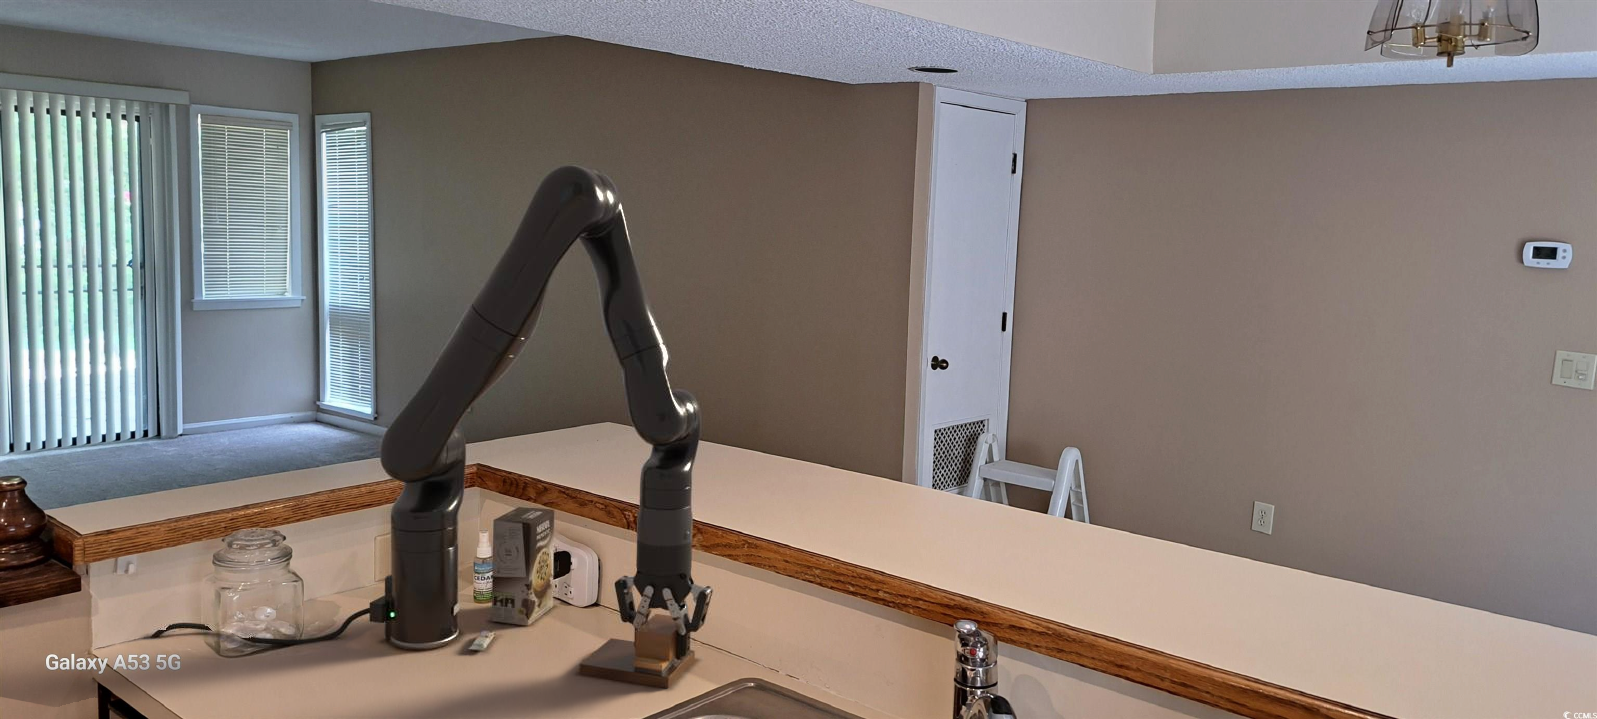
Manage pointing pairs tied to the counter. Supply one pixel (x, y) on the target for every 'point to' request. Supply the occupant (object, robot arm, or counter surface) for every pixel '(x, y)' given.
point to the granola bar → (482, 640)
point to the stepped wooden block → (655, 645)
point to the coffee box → (522, 565)
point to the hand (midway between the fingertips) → (661, 654)
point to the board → (629, 665)
